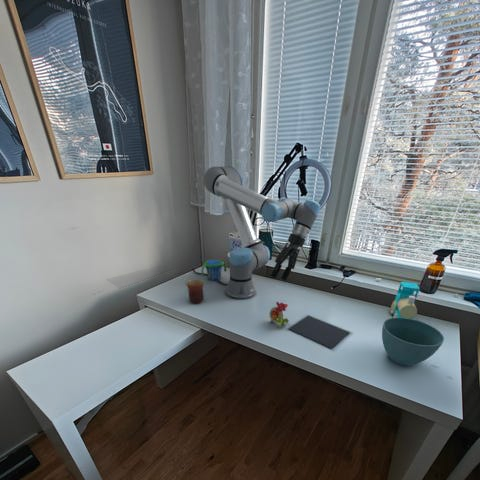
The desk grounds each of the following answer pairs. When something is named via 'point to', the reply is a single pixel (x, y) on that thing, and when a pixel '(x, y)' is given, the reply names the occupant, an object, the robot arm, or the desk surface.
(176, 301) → the desk surface
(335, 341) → the mat
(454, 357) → the desk surface
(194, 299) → the mug
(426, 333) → the teal green bowl
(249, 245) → the robot arm
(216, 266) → the snack cup
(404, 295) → the toy train
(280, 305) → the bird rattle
